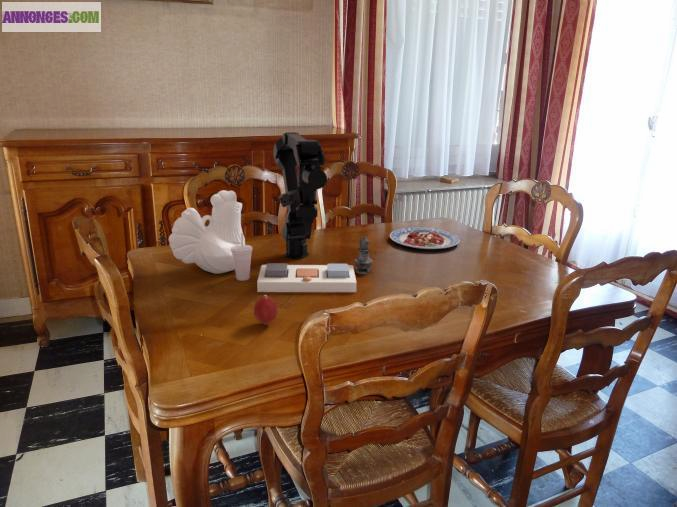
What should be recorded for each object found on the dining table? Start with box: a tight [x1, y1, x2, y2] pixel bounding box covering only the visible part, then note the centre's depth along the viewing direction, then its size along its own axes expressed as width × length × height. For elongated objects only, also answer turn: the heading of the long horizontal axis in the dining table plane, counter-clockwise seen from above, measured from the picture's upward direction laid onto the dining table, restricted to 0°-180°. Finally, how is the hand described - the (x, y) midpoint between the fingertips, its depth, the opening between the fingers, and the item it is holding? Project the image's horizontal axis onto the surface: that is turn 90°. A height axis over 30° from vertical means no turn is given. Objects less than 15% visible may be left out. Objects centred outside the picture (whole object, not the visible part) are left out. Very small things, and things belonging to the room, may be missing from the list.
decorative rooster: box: [168, 189, 246, 275], centre depth 159 cm, size 25×16×25 cm, turn 125°
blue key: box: [326, 263, 349, 278], centre depth 154 cm, size 6×6×3 cm
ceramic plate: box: [389, 226, 460, 250], centre depth 195 cm, size 26×26×3 cm
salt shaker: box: [354, 234, 374, 275], centre depth 163 cm, size 6×6×12 cm
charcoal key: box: [265, 262, 288, 278], centre depth 154 cm, size 6×6×3 cm
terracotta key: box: [297, 268, 318, 278], centre depth 154 cm, size 6×6×3 cm
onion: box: [253, 294, 279, 326], centre depth 128 cm, size 6×6×8 cm
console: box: [256, 264, 357, 293], centre depth 155 cm, size 28×14×4 cm, turn 93°
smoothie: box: [231, 232, 254, 282], centre depth 155 cm, size 6×6×14 cm
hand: (307, 232), depth 163 cm, fingers closed
